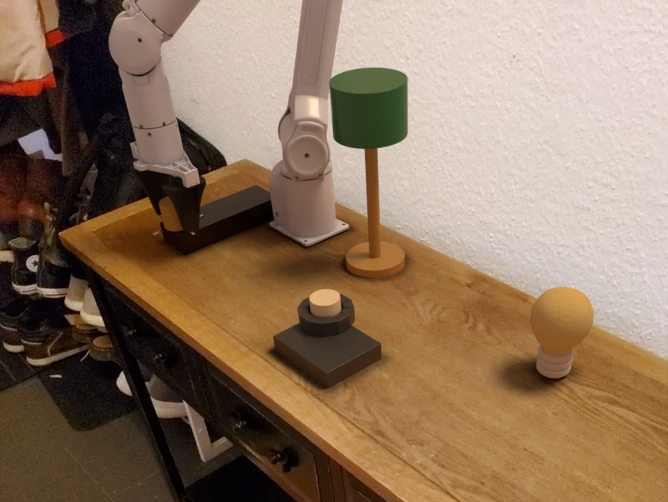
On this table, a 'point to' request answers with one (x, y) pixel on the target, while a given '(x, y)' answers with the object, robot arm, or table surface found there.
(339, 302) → the lamp switch
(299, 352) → the switch box
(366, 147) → the lamp
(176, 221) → the dimmer knob
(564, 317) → the light bulb
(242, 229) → the dimmer
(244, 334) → the table surface
